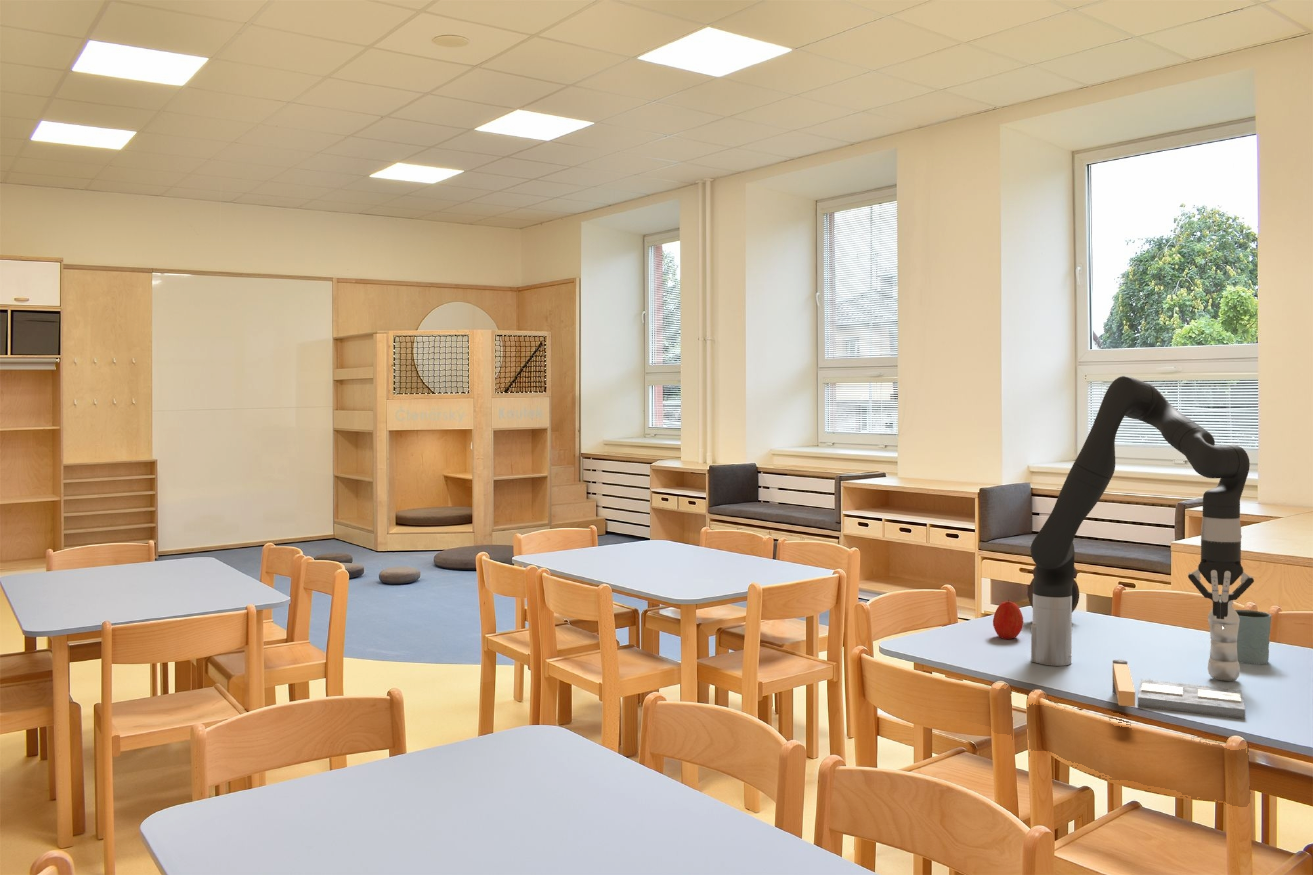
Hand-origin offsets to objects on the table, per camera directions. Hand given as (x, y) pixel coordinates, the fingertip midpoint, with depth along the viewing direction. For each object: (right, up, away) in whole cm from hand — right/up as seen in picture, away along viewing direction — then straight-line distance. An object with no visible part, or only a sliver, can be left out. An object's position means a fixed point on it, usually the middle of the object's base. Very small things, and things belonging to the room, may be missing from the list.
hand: (1219, 618), depth 218 cm
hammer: (-22, -19, -2) cm, 29 cm away
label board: (-5, -19, +3) cm, 20 cm away
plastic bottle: (+13, -19, +21) cm, 31 cm away
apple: (-23, -17, +66) cm, 72 cm away
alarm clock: (-1, -17, +87) cm, 89 cm away
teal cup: (+29, -18, +40) cm, 52 cm away
